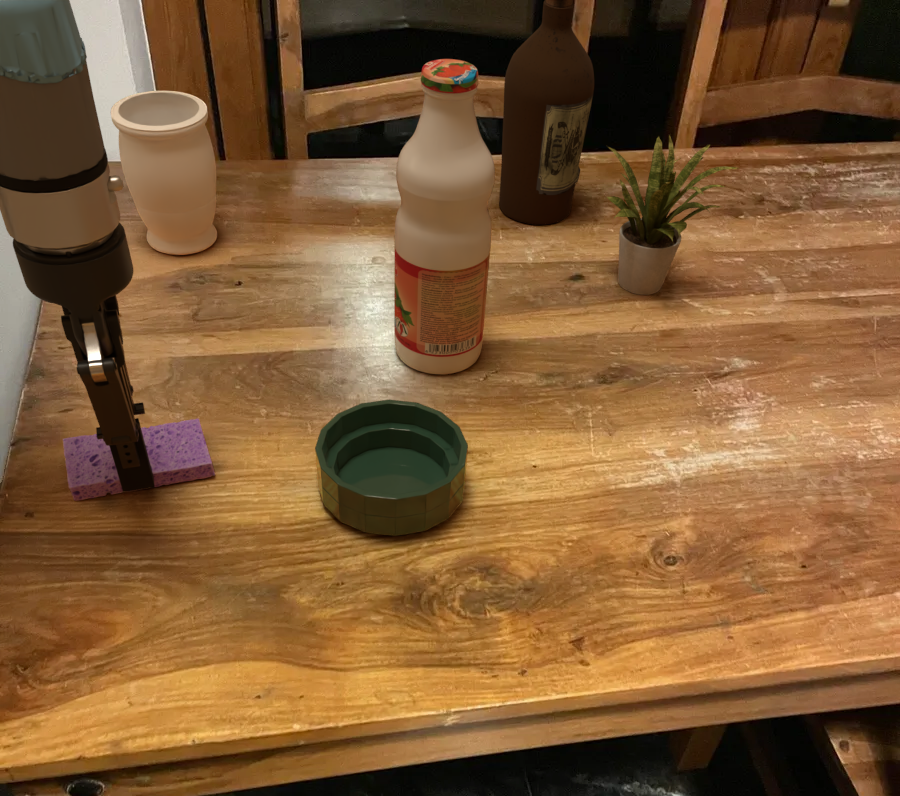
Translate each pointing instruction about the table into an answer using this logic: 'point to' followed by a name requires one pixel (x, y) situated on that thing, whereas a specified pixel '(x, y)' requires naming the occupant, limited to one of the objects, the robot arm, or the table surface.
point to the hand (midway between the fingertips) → (138, 484)
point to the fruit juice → (443, 226)
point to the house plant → (655, 219)
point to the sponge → (169, 450)
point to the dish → (391, 467)
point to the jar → (169, 168)
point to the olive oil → (545, 119)
